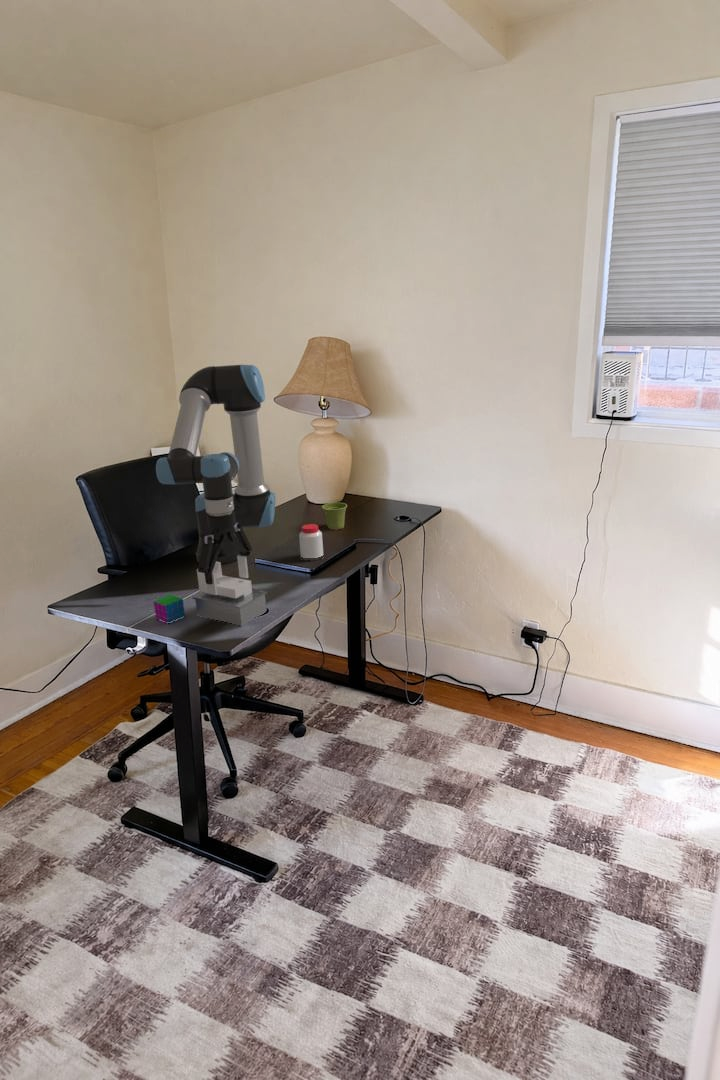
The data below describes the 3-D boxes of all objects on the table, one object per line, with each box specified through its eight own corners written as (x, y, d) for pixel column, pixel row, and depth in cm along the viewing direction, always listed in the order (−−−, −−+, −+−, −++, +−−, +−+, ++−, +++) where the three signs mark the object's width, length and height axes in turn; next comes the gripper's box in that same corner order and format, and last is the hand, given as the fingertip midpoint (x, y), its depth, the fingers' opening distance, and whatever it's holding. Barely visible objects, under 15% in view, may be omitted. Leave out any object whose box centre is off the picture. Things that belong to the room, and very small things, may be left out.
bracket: (199, 594, 206) (196, 569, 203) (216, 585, 211) (213, 561, 209) (236, 601, 199) (233, 575, 197) (252, 592, 205) (249, 567, 203)
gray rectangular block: (194, 616, 206) (192, 597, 204) (222, 600, 216) (220, 582, 214) (242, 627, 198) (239, 607, 196) (269, 610, 207) (267, 591, 205)
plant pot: (345, 531, 273) (344, 509, 270) (321, 531, 274) (319, 509, 272) (350, 524, 281) (349, 502, 279) (326, 524, 283) (324, 502, 280)
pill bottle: (320, 561, 244) (318, 530, 240) (298, 561, 245) (295, 529, 242) (326, 553, 251) (324, 523, 247) (304, 553, 252) (302, 522, 249)
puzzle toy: (185, 617, 206) (182, 598, 204) (168, 625, 202) (165, 605, 200) (173, 613, 209) (170, 594, 208) (156, 620, 205) (153, 601, 204)
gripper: (199, 526, 185) (209, 604, 192) (259, 501, 205) (266, 572, 212) (177, 523, 189) (188, 599, 196) (238, 499, 209) (246, 568, 216)
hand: (228, 585), depth 204 cm, fingers open, 13 cm apart
